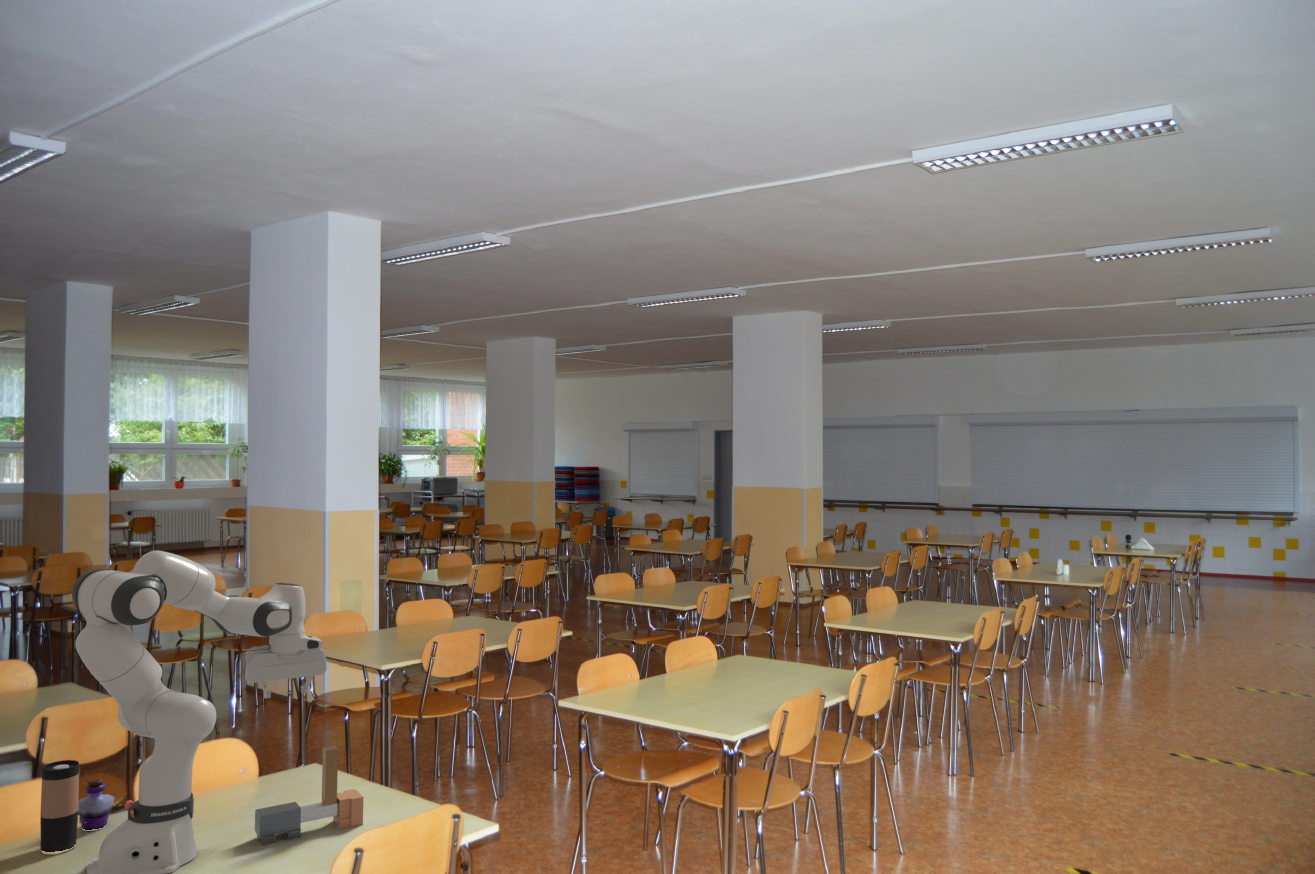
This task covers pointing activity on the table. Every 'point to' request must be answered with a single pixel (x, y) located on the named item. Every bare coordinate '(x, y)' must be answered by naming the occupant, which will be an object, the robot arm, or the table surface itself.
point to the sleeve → (278, 822)
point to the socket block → (349, 809)
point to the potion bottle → (95, 806)
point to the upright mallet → (325, 789)
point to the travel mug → (59, 805)
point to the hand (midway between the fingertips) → (286, 695)
